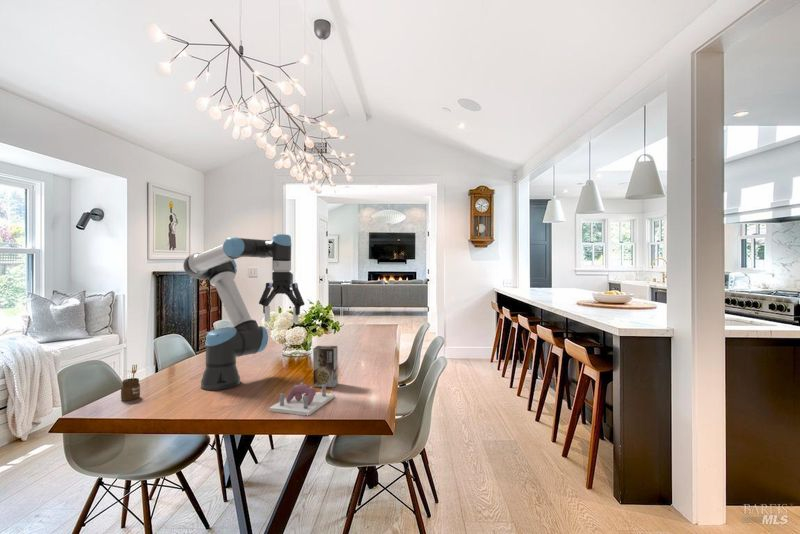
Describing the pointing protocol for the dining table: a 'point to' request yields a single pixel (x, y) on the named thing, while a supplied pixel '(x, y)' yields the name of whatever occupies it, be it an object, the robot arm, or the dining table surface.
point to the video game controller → (300, 389)
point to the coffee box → (325, 366)
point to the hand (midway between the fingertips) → (281, 322)
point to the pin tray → (302, 403)
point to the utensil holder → (130, 387)
